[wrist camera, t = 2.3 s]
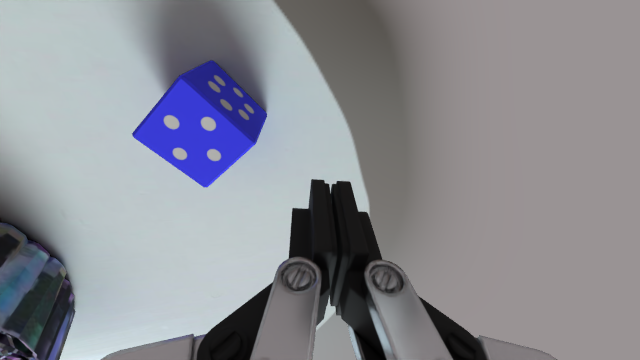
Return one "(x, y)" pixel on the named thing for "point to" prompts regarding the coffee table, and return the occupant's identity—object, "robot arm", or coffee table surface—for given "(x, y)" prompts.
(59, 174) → the coffee table surface
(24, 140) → the coffee table surface
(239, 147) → the die
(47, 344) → the decorative bowl
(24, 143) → the coffee table surface
